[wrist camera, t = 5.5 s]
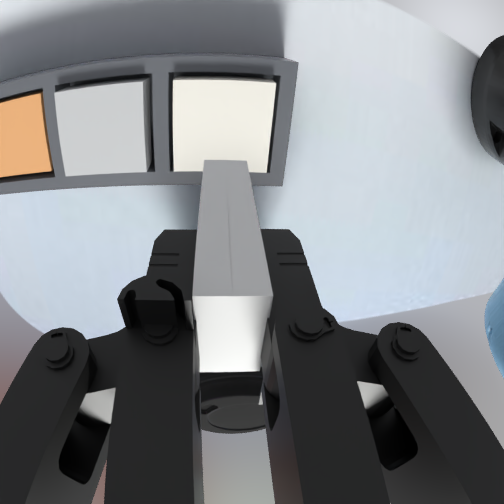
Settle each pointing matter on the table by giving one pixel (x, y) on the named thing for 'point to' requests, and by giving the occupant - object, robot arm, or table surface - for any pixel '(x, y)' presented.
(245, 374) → the coffee cup
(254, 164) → the key cream
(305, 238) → the table surface
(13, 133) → the key orange
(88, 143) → the key grey
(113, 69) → the keypad
